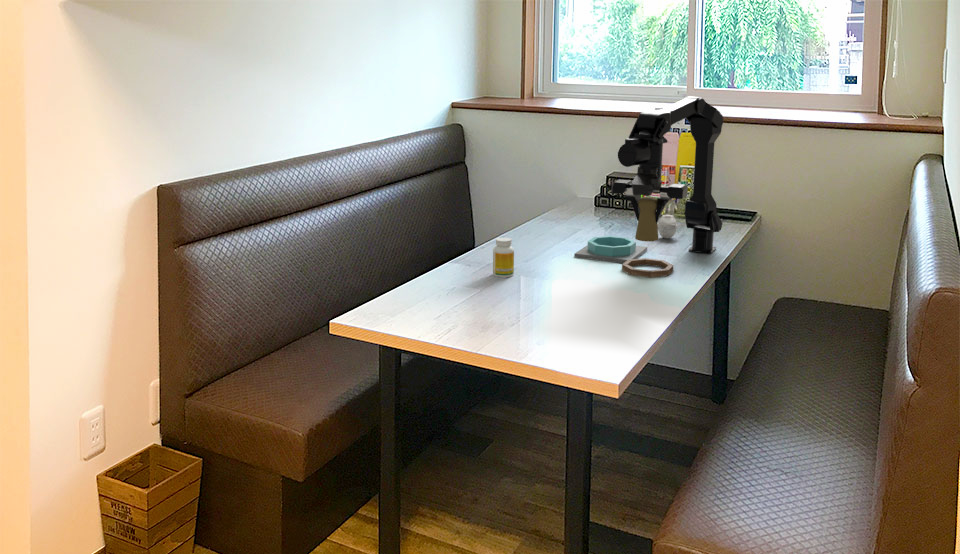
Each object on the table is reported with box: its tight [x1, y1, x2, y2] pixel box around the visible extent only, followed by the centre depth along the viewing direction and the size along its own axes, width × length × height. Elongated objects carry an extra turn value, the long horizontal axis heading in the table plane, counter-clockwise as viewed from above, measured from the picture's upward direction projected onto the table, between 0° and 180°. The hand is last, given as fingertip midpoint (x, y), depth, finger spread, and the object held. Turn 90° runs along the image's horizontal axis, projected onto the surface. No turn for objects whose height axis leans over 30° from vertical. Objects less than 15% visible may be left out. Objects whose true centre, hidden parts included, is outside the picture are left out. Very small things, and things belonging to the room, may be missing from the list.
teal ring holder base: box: [573, 235, 648, 264], centre depth 252 cm, size 16×16×4 cm
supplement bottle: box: [492, 237, 515, 279], centre depth 231 cm, size 5×5×10 cm
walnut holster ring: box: [621, 257, 675, 278], centre depth 236 cm, size 12×12×2 cm
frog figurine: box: [657, 214, 679, 240], centre depth 269 cm, size 6×7×7 cm
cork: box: [634, 196, 660, 242], centre depth 233 cm, size 6×6×11 cm
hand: (647, 221), depth 234 cm, fingers closed on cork, 4 cm apart
